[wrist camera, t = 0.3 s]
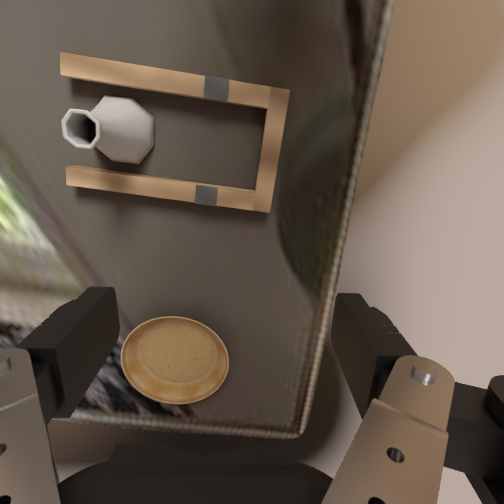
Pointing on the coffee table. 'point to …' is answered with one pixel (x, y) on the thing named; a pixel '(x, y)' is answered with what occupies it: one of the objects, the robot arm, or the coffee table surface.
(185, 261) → the coffee table surface
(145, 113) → the flask
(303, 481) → the robot arm
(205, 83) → the beam channel
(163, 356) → the plant saucer
